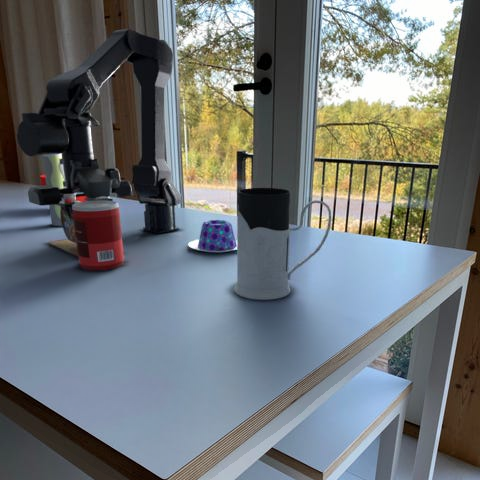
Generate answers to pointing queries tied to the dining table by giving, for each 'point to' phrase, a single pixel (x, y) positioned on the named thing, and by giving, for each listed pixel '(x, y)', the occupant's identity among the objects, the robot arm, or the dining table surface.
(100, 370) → the dining table surface
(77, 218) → the canned food
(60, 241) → the cork coaster
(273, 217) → the glass holder
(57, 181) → the spray bottle
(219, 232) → the pudding
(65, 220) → the tin
